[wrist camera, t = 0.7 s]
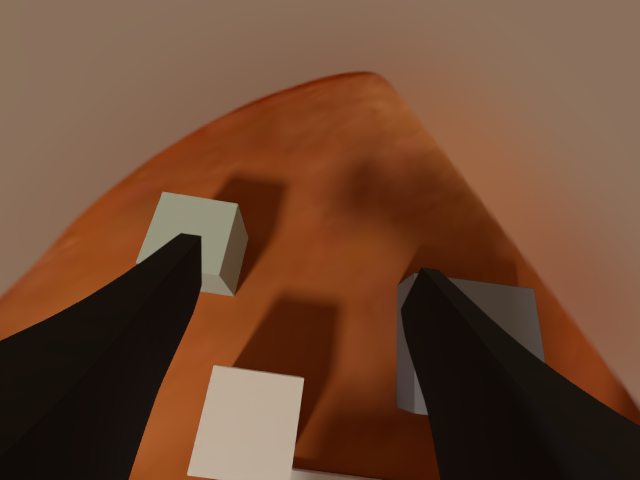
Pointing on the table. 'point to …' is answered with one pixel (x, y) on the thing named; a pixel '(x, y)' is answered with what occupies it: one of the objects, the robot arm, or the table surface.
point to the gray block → (493, 299)
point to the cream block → (247, 425)
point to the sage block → (217, 237)
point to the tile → (322, 475)
